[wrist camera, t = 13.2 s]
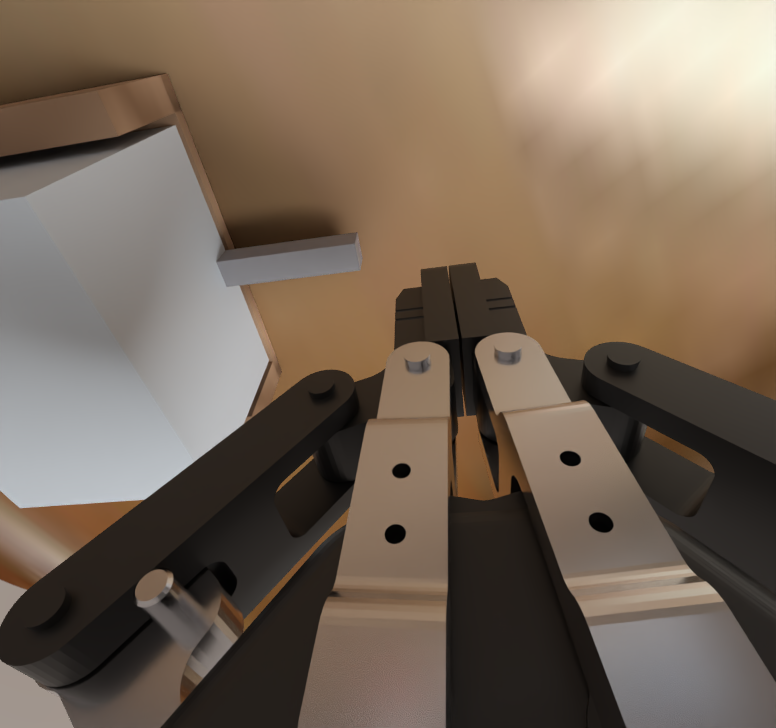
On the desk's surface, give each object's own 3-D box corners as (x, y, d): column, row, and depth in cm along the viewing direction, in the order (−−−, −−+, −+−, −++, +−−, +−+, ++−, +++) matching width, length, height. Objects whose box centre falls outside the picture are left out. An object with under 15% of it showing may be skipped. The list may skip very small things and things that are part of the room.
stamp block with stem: (-22, 158, 15) (-276, 244, 9) (330, 97, 13) (277, 156, 8) (123, 375, 20) (19, 508, 15) (380, 348, 19) (370, 484, 14)
